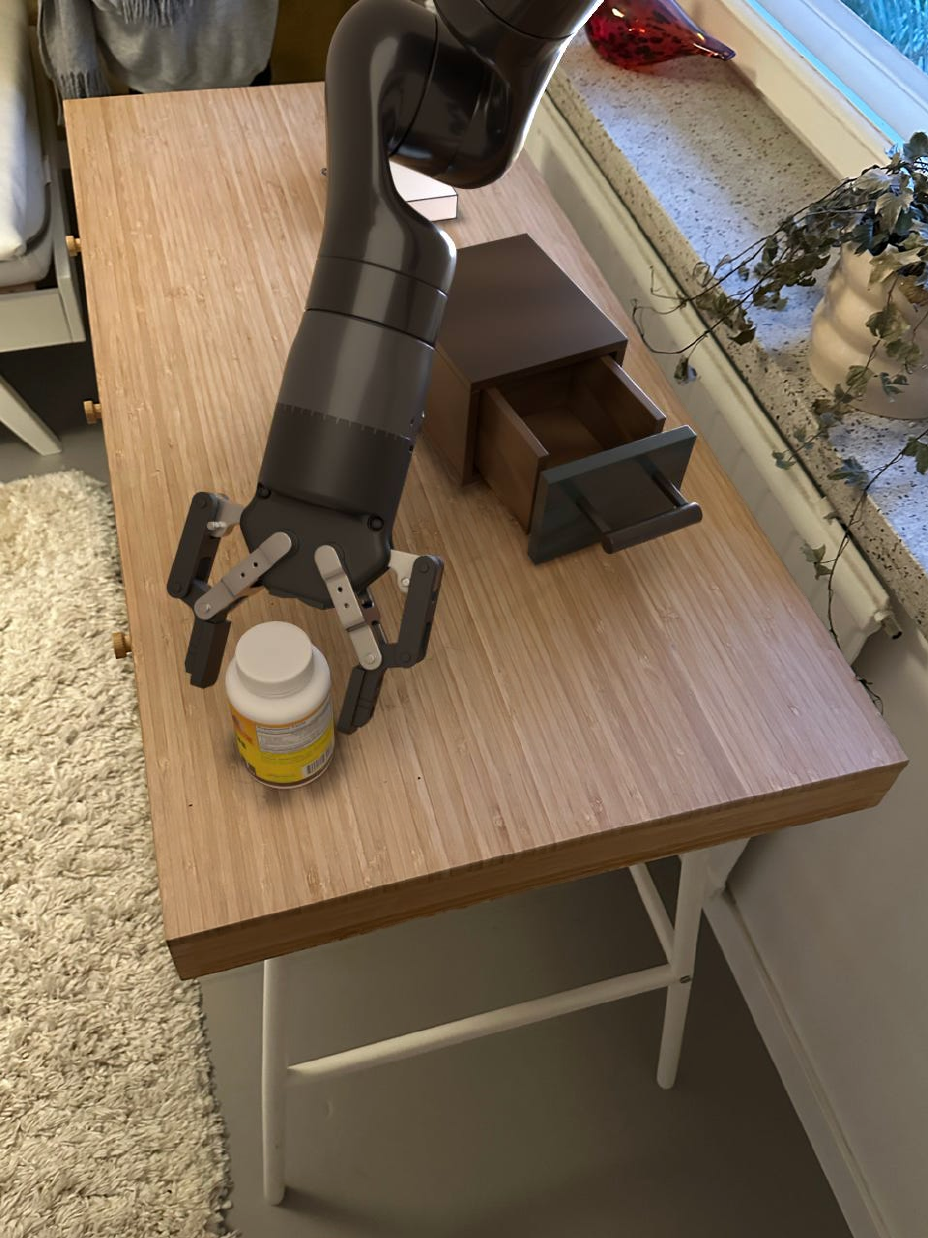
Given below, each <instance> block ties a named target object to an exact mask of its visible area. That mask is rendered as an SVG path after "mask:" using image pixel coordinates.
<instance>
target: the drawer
mask: <svg viewBox="0 0 928 1238" xmlns="http://www.w3.org/2000/svg"><path fill="white" fill-rule="evenodd" d="M666 421H667V415H665V414H664V413H663V412H662V411H661V410H660V408H658V407H657V405H656V404H655V403H654V402H653V401H652V399H650V398H649V397H648V396H647V394H646V393H645V392H643V390H642V389H641V388H640V387H639V386H638V385H637V384H636V382H634V380H633V379H632V378H631V377H630V376H629V375H628V374H627V373H626V372H625V370H623V368H622V369H621V368H620V367H619V365H618V364H617V363H616V362H615V361H614V360H613V359H612V358H611V357H610V356H609V355H608V354H604V355H601V356H597V357H594V358H590V359H587V360H583V361H580V362H576V363H572V364H569V365H565V366H562V367H558V368H555V369H551V370H548V371H544V372H541V373H537V374H534V375H530V376H527V377H523V378H520V379H516V380H513V381H509V382H506V383H502V384H499V385H495V386H491V387H488V388H484V389H481V390H480V395H479V406H478V416H477V427H476V437H475V448H474V458H473V463H474V464H475V466H476V467H477V468H478V470H479V471H480V473H481V474H482V475H483V477H484V478H485V479H486V480H485V481H486V483H487V484H488V485H489V486H490V488H491V489H492V491H493V492H494V493H495V495H496V496H497V497H498V498H499V500H500V501H501V503H502V504H503V506H504V507H505V508H506V509H507V511H508V512H509V514H510V515H511V516H512V518H513V519H514V521H515V522H516V523H517V525H518V526H519V527H520V529H521V530H522V532H523V533H524V534H525V536H528V535H529V537H528V544H527V548H526V549H527V550H526V555H527V557H528V559H529V560H530V561H531V562H532V564H533V565H534V566H539V565H541V564H543V563H544V564H545V563H546V562H550V561H552V560H555V559H558V558H561V557H564V556H566V555H569V554H573V553H574V552H577V551H580V550H583V549H586V548H589V547H592V546H594V545H598V544H600V545H601V548H602V550H603V552H605V554H607V555H610V556H611V555H613V554H617V553H619V552H622V551H624V550H627V549H630V548H633V547H635V546H638V545H641V544H644V543H646V542H649V541H652V540H655V539H657V538H661V537H663V536H666V535H669V534H671V533H674V532H677V531H680V530H682V529H685V528H688V527H691V526H694V525H696V524H699V523H701V522H702V520H703V516H704V515H703V510H702V507H701V506H700V505H699V503H697V502H695V501H691V502H688V501H687V499H686V498H685V497H684V496H683V495H682V494H681V493H680V491H681V487H682V486H683V481H684V478H685V475H686V472H687V469H688V466H689V462H690V459H691V456H692V453H693V451H694V447H695V444H696V440H697V437H698V435H697V434H696V432H695V431H694V430H693V429H692V428H691V427H690V425H688V424H685V425H681V426H679V427H675V428H673V429H669V430H666V431H664V429H665V428H664V427H665V424H666ZM663 431H664V432H663Z"/></svg>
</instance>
